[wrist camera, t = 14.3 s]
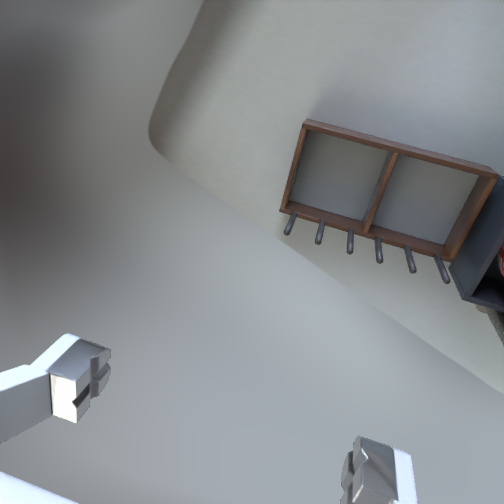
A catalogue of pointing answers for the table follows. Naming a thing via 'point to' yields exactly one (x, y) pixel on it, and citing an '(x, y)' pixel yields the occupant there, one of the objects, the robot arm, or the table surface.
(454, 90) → the table surface
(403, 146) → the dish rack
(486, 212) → the dark square basin
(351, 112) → the table surface
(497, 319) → the tap
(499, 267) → the soda can
